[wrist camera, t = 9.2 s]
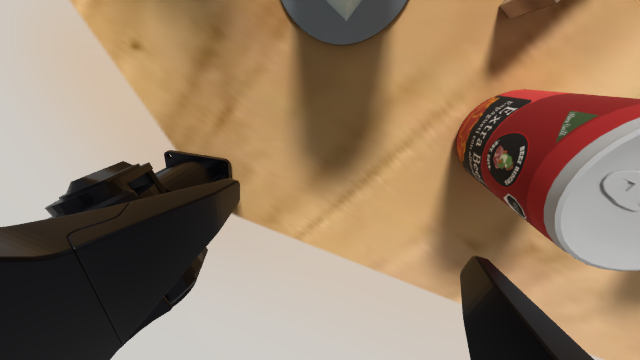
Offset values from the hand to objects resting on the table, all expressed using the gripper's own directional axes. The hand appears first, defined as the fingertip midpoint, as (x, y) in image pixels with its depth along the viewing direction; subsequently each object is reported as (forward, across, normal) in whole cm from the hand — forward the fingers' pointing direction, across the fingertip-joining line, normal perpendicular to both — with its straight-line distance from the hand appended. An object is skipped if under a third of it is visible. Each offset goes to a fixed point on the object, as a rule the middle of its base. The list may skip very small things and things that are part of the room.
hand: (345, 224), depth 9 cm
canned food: (+16, -11, -2) cm, 19 cm away
